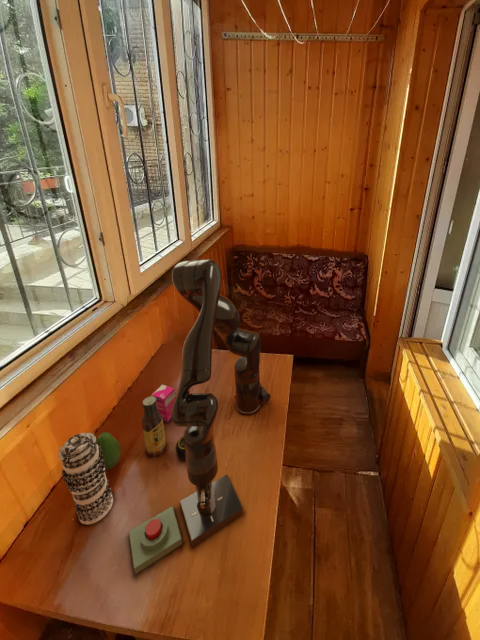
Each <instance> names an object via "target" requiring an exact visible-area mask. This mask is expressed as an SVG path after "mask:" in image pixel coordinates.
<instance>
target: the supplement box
mask: <svg viewBox="0 0 480 640" xmlns="http://www.w3.org/2000/svg"><path fill="white" fill-rule="evenodd" d="M151 396H154V397H155V398H156V401H157V403H156V405H157V410H158V411H159V413H160V414H161V416H162V417H163V422H165V423H167V424H168V423H169V422H170V421H172V418H171V411H172V407H173V403H174V400H175V397H176V391H175V388H173V387H170V386H168V385H165V384H161V385H160V386H159V387H158V388H157V389H156V390H155V391H154V392H153V393H152V394H151Z"/></svg>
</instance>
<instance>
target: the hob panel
mask: <svg viewBox="0 0 480 640" xmlns="http://www.w3.org/2000/svg"><path fill="white" fill-rule="evenodd" d="M212 486H213V488H214V493H215V502H216V506H215V509H214V511H213V512H212V513H211V514H210V515H209V516H205V517H204V516H202V515H200V514H199V511H198V508H197V503H198V496H197V491H195V492H193V493H191V494H190V495H188V496H186V497H184V498H183V499H181V500H179V504H180V509H181V512H182V515H183V519H184V522H185V526H186V530H187V532H188V536H189V540H190V542H191V546H192V547H193V548H194V546H196V545H198V544H199V543H201V542H202V541H204V540H205V539H207V538H209V537H211V536H212V535H213V534H214V533H216V532H217V531H219V530H220V529H222V528H224V527H225V526H226V525H228V524H230V523H231V522H232V521H234V520H236V519H237V518H239V517H241V515H243V514H244V510H243V506H242V504H241V501H240V499H239V497H238V495H237V492H236V490H235V488H234V486H233V484H232V482H231V480H230V477H229V476H228V473H226V474H224V475H223V476H221V477H219V478H218V479H215V480H213V481H212Z"/></svg>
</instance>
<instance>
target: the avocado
mask: <svg viewBox="0 0 480 640" xmlns="http://www.w3.org/2000/svg"><path fill="white" fill-rule="evenodd" d="M96 444H98V445H99V446H101V447H102V449H101V450H102V452H103V454H102V455H103V457H104V458H103V460H104V462H105V463H104V465H105V470H106V471H108V470H111V469H113V468H114V467H116V465H117V464H118V463H119V460H120V457H121V452H122V449H121V445H120V443H119V441H118V440H117V439H116V438H115V437H114V436H113V435H112V434H111V433H110V432H107V431H104V432H102V433H100V434H99V435H98V436H97V437H96ZM99 454H100V453H99Z"/></svg>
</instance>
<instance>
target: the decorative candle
mask: <svg viewBox="0 0 480 640" xmlns="http://www.w3.org/2000/svg"><path fill="white" fill-rule="evenodd" d="M96 439H97V437H96V435H95V434H93V433H92V432H80V433H76V434H73V435H72V436H71V437H69V438H68V439H67V440H66V441H65V442H64V443H63V444H62V445H61V446H60V448H59V451H58V452H57V453H58V455H57V456H58V459H59V460H60V461H61V466H62V469H61V475H62V478H63V481H64V482H65V486H66V487H67V490H68V491H69V492H70V494H71V495H72V499H73V500H72V504H74V505H73V507H74V508H75V509H74V510H75V513H76V516H77V517H78V521H79V522H80V523H81V524H83V525H92V524H95V523H97V522H99V521H101V520H102V519H103V518H104V517H105V516H106V515H108V513H109V512H110V510H111V509H112V507H113V503H114V497H113V492H112V488H111V485H110V480H109V479H108V478H107V475H106V471H107V470H105V465H104V463H105V462H104V460H103V458H104V457H103V455H102V454H103V452H102V450H101V449H102V447H101V446H99V445H98V444H96ZM99 453H100V454H99Z"/></svg>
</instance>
